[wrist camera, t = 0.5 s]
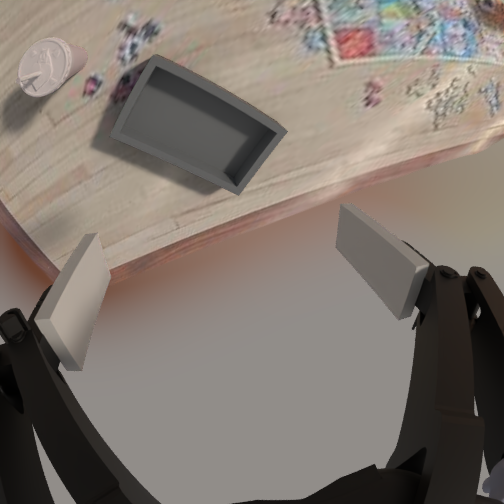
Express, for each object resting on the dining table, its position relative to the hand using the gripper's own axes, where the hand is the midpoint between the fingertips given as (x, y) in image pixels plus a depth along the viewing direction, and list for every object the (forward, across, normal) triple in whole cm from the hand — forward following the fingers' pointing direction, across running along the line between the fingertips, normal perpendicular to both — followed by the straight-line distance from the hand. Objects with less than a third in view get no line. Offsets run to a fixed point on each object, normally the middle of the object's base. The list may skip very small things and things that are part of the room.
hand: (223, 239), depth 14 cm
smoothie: (+22, -16, +17) cm, 32 cm away
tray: (+25, 0, +5) cm, 26 cm away
